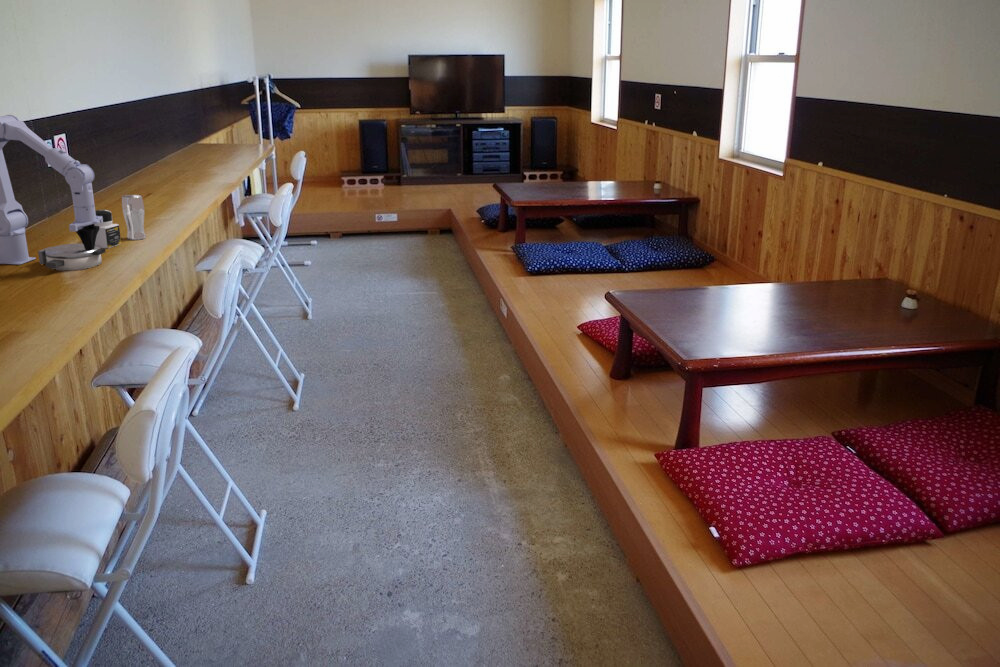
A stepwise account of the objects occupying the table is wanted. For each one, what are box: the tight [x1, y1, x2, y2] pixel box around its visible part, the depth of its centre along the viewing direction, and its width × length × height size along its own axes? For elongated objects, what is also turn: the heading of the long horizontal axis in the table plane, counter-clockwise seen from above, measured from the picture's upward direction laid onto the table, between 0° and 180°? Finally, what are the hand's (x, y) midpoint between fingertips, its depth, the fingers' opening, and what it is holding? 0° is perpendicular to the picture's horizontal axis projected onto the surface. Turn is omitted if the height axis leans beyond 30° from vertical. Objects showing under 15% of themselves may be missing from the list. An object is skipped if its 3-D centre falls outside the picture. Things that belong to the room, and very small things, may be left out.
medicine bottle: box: [94, 209, 122, 249], centre depth 267 cm, size 7×7×12 cm
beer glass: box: [121, 194, 147, 241], centre depth 278 cm, size 7×7×15 cm
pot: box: [37, 246, 103, 271], centre depth 244 cm, size 17×23×4 cm
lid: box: [43, 242, 106, 258], centre depth 244 cm, size 17×15×1 cm
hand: (89, 249), depth 243 cm, fingers closed, pressing on lid
